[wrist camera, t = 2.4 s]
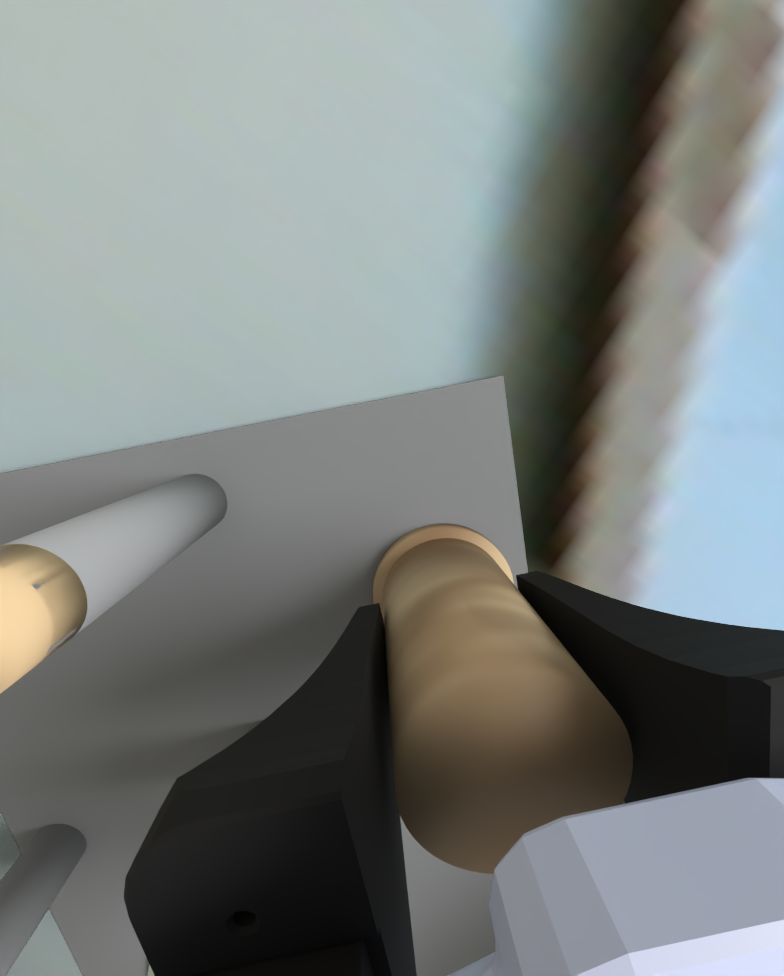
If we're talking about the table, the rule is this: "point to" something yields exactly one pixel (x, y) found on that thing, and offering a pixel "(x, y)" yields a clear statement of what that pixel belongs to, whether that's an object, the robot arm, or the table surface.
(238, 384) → the table surface
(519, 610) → the cylinder
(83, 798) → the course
